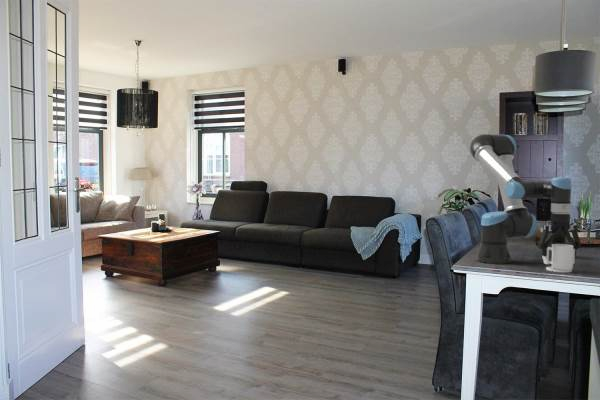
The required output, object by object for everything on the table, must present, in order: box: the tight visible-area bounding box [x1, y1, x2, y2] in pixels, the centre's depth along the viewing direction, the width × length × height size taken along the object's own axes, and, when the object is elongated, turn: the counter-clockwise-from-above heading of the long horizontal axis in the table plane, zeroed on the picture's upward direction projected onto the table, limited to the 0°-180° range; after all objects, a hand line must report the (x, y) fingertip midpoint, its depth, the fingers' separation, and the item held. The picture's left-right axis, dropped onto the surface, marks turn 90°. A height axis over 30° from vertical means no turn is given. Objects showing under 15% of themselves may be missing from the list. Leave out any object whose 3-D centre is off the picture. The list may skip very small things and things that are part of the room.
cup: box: [541, 243, 574, 271], centre depth 221 cm, size 8×12×10 cm
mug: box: [534, 230, 567, 258], centre depth 258 cm, size 11×15×12 cm
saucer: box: [545, 265, 573, 274], centre depth 221 cm, size 10×10×1 cm
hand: (558, 263), depth 221 cm, fingers open, 11 cm apart
